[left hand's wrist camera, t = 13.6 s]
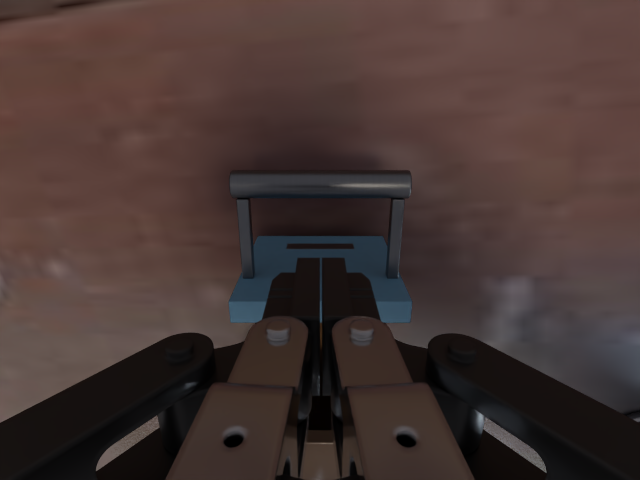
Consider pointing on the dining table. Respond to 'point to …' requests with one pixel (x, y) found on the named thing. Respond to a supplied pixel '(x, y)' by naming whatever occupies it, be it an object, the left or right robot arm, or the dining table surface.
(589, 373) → the dining table surface
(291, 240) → the drawer
